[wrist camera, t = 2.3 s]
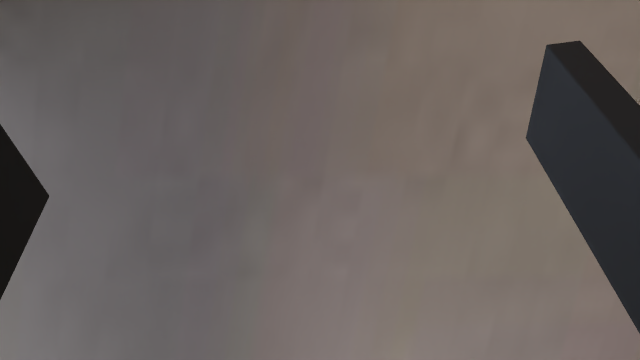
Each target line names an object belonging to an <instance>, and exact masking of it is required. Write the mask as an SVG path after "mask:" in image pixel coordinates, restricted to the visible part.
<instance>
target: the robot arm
mask: <svg viewBox="0 0 640 360" xmlns="http://www.w3.org/2000/svg"><path fill="white" fill-rule="evenodd" d="M526 139H527V141H528V142H529V144H530V146H531V147H532V149H533V151H534V153H535V154H536V156H537V158H538V160H539V161H540V163H541V165H542V166H543V168H544V170H545V172H546V173H547V175H548V177H549V178H550V180H551V182H552V184H553V185H554V187H555V189H556V190H557V192H558V194H559V196H560V197H561V199H562V201H563V203H564V204H565V206H566V208H567V209H568V211H569V213H570V215H571V216H572V218H573V220H574V221H575V223H576V225H577V227H578V228H579V230H580V232H581V233H582V235H583V237H584V239H585V240H586V242H587V244H588V246H589V247H590V249H591V251H592V252H593V254H594V256H595V258H596V259H597V261H598V263H599V264H600V266H601V268H602V270H603V271H604V273H605V275H606V276H607V278H608V280H609V282H610V283H611V285H612V287H613V289H614V290H615V292H616V294H617V295H618V297H619V299H620V301H621V302H622V304H623V306H624V307H625V309H626V311H627V313H628V314H629V316H630V318H631V319H632V321H633V323H634V325H635V326H636V328H637V330H638V332H639V333H640V106H639V105H638V103H637V102H636V101H635V100H634V99H633V98H632V97H631V96H630V95H629V94H628V93H627V91H626V90H625V89H624V88H623V87H622V86H621V85H620V84H619V83H618V82H617V81H616V79H615V78H614V77H613V76H612V75H611V74H610V73H609V72H608V71H607V70H606V69H605V67H604V66H603V65H602V64H601V63H600V62H599V61H598V60H597V59H596V58H595V57H594V55H593V54H592V53H591V52H590V51H589V50H588V49H587V48H586V47H585V46H584V45H583V43H582V42H581V41H574V42H566V43H558V44H550V45H547V46H546V50H545V54H544V59H543V63H542V68H541V72H540V77H539V81H538V86H537V90H536V95H535V99H534V104H533V108H532V113H531V117H530V122H529V126H528V131H527V135H526ZM48 198H49V195H48V193H47V192H46V190H45V189H44V188H43V186H42V185H41V183H40V182H39V180H38V179H37V177H36V176H35V174H34V173H33V171H32V170H31V168H30V167H29V166H28V164H27V163H26V161H25V160H24V158H23V157H22V155H21V154H20V152H19V151H18V149H17V148H16V146H15V145H14V144H13V142H12V141H11V139H10V138H9V136H8V135H7V133H6V132H5V130H4V129H3V127H2V126H1V124H0V299H1V297H2V295H3V293H4V291H5V289H6V287H7V285H8V282H9V280H10V278H11V276H12V274H13V272H14V270H15V268H16V265H17V263H18V261H19V259H20V257H21V255H22V253H23V251H24V249H25V246H26V244H27V242H28V240H29V238H30V236H31V234H32V232H33V229H34V227H35V225H36V223H37V221H38V219H39V217H40V215H41V213H42V210H43V208H44V206H45V204H46V202H47V200H48Z"/></svg>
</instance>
